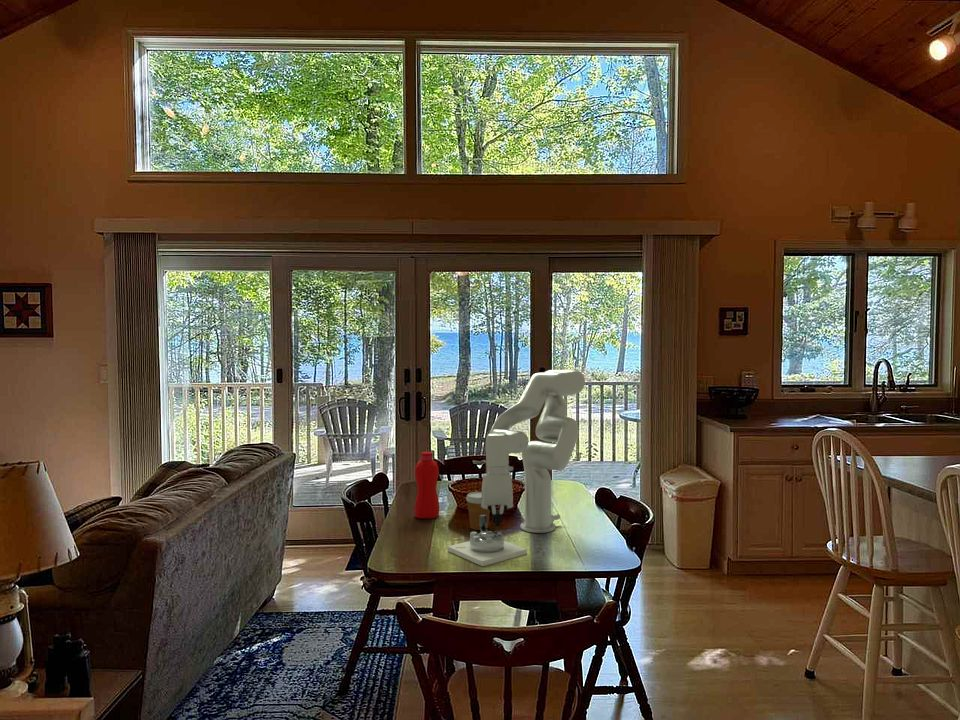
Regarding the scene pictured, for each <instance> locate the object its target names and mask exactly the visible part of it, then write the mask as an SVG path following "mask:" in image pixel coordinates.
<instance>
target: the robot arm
mask: <svg viewBox="0 0 960 720" xmlns="http://www.w3.org/2000/svg"><path fill="white" fill-rule="evenodd" d="M585 385H586V378H585V376H584V374H583V373H582V372H581V371H579V370H576V369H575V370H574V369H548V370H545V371H543V372H542V371H541V372H536V373H533V374H532V375H531V377H530V378H529V380H528V381H527V383H526V386H525V388H524V389H523V392H522V393H521V395H520V397H519V398H518V401H517V402H516V403H515V404H513V405H512V406H510V407H509V408H508V409H505V411H504V412H502V413H501V414H499V416H497V418H496V420H495V421H494V422H493V425H492V426H491V429H490V431H489V433H488V434H487V435H486V437H485V447H486V448H485V473H483V475H482V483H481V492H482V504H481V507H482V508H484V509H489V510H490V513H491V514H492V524H494V527H496V528H497V527H501V524H503V514H504V512H506V510H507V509H508V510H509V509H512V508H514V502H513V501H514V496H513V495H514V494H513V493H514V491H513V481H512V476H511V475H512V474H511V473H510V472H511V471H514V466H510V465H509V464H510V460H509V457H510V456H509V455H510V454H520V453H521V459H522V464H523V470H524V521H523V522H522V523H520V525H519V526H520V529H521V530H522V531H525V532H529V533H533V534H534V533H535V534H536V533H537V534H539V533H540V534H542V533H543V534H544V533H550V532H553V531H554V530H556V524H555V523H554V521H558V520H560V519H561V515H560V514H559V513H556V514H553V513H552V478H551V475H550V472H549V470H550V471H557V472H558V471H563V470H565V469H566V468H567V466H568V465H569V463H570V460H571V457H572V455H573V452H574V449H575V446H576V444H577V441H578V437H579V431H580V430H579V424H578V422H577V421H576V420H575V419H574V418H572V417H568V416H566V414H567V411H568V407H567V403H566V400H565V398H564V397H568V396H574V395H578V394H579V393H580V392H582V391H583V390H584V388H585ZM541 410H542V412H541ZM540 412H541V414H540ZM539 414H540V416H539V419H538V421H537V423H536V426H535V436H536V437H537V438H538V439H539V440H531V441H529V437H528V435H527V434H526V433H525V432H523V431H521V430H520V431H519V430H513V429H511V428H512V427H514V426H515V425H517V424H520V423H522V422H525V421H529V420H531V419H534V418H536V417H537V416H538V415H539ZM496 506H498V510H497V509H496Z"/></svg>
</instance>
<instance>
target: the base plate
mask: <svg viewBox="0 0 960 720" xmlns="http://www.w3.org/2000/svg"><path fill="white" fill-rule="evenodd" d="M447 552H449V553H451V554H453V555H456V556H459V557H460V558H462V559H464V560H465V559H466V560H467V561H468V562H469V561H470V562H471V563H474V564H477V565H479V566H481V567H484V566H489V565H492V564H495V563H499V562H502V561H506V560H509V559H513V558H516V557H521V556H524V555H527V554H528V553H527V552H528V550H527V548H525V547H523V546H519V545H516V544H514V543H511V542H508V541H506V540H504V549H503V550H501V551H498V552H493V553H481V552H476V551H473V550H471V549H470V540H467V541H463V542H460V543H456V544H452V545H448V546H447Z"/></svg>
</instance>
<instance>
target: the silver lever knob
mask: <svg viewBox="0 0 960 720" xmlns="http://www.w3.org/2000/svg"><path fill="white" fill-rule="evenodd" d="M480 528H481V530H480V532H479V533H478V532H477V531H471V532H470V533H469V541H470V549H471V550H473V551H476V552H481V553H493V552H498V551H501V550H503V549H504V541H505V535H504V534H502V530H494V531H491V530H488V528H487V515H480ZM486 528H487V529H486Z"/></svg>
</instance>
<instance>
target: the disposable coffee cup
mask: <svg viewBox="0 0 960 720" xmlns="http://www.w3.org/2000/svg"><path fill="white" fill-rule="evenodd" d="M465 499H466V501H467V510H468V515H469V516H468V517H469V524H470V529H472V530H473V531H477V530H478V531H481V528H480V515H487V528H486V529H487V530H488V528H489V522H490V513H491V511H490V510H489V509H484V508H482V507H481V504H482V491H474V492H469V493H468V494H467V495H466V497H465Z"/></svg>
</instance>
